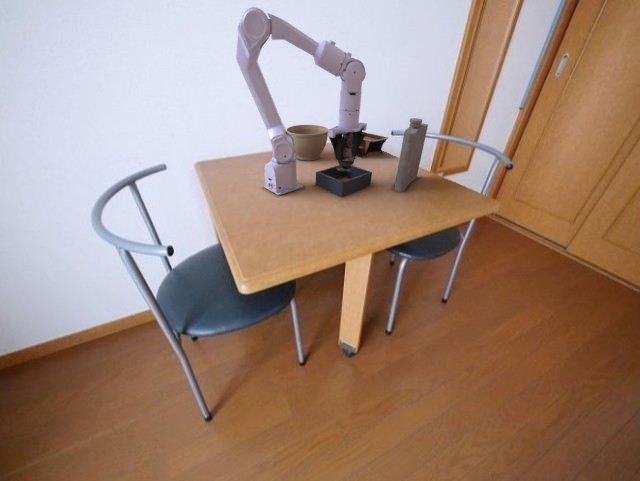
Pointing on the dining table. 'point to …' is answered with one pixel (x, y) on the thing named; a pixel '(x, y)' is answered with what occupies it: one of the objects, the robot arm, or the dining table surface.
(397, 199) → the dining table surface
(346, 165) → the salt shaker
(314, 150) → the planter bowl
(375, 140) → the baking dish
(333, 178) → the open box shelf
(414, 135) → the hip flask
